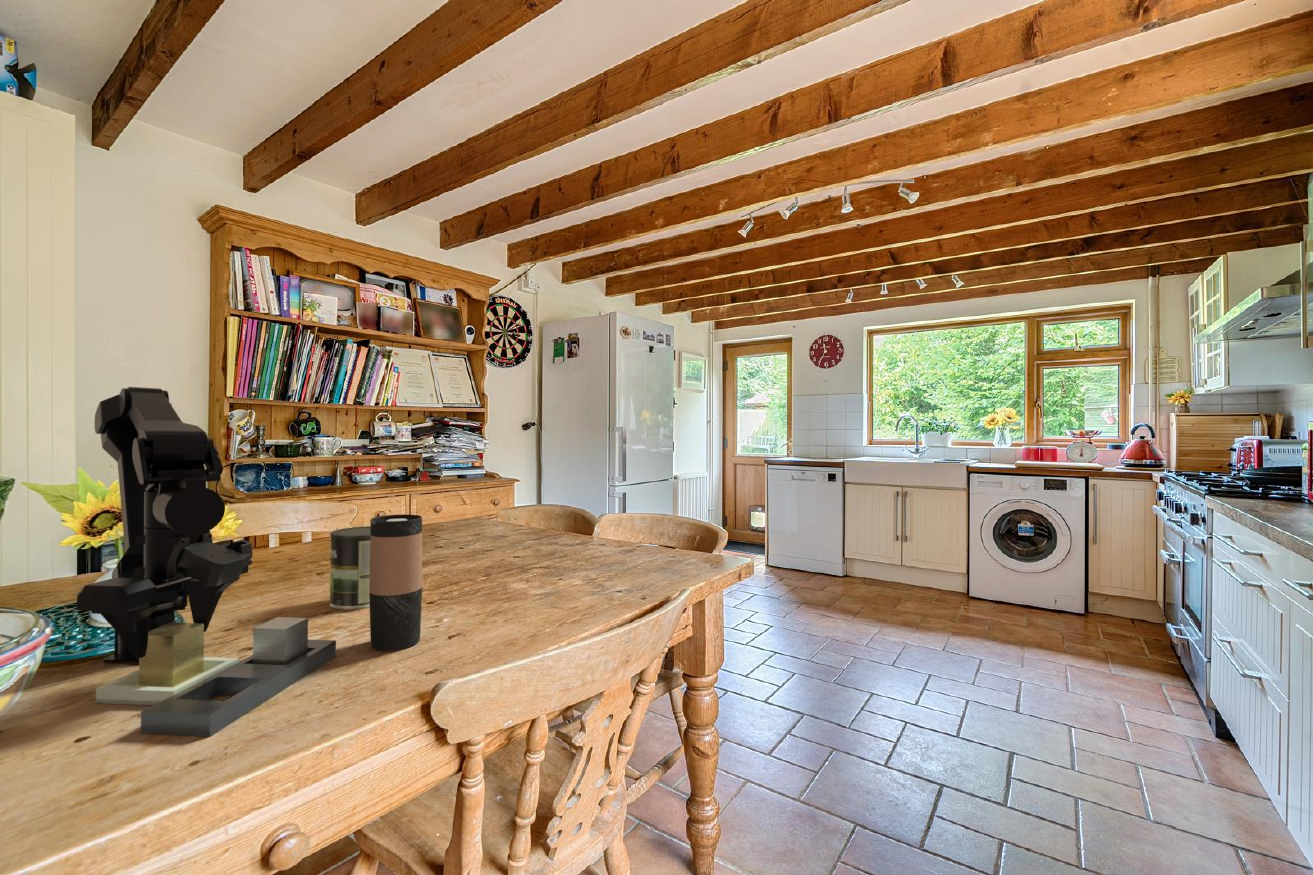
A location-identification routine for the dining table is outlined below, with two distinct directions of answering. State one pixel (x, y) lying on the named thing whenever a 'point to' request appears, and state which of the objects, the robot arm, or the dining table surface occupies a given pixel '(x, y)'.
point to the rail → (230, 694)
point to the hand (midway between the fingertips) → (172, 644)
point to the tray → (132, 693)
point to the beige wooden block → (172, 655)
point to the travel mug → (395, 581)
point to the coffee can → (350, 568)
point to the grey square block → (280, 641)
